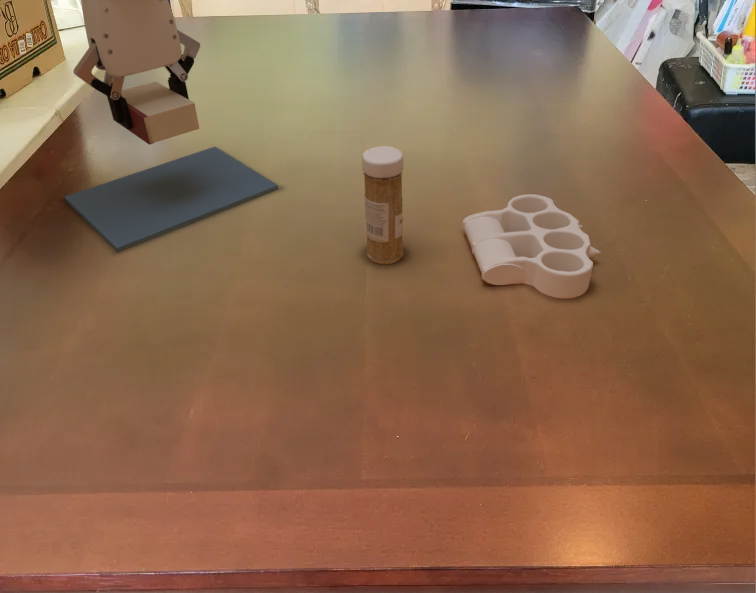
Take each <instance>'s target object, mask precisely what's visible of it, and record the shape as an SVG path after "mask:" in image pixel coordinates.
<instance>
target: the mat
mask: <svg viewBox="0 0 756 593" xmlns="http://www.w3.org/2000/svg"><path fill="white" fill-rule="evenodd" d="M278 190H279V185H278V184H277V183H275V182H274V181H272V180H271V179H269V178H267V177H265V176H264V175H262V174H260V173H259V172H257V171H256V170H254V169H253V168H251V167H249V166H248V165H246V164H244V163H242V162H241V161H239V160H238V159H236V158H234V157H233V156H231V155H229V154H227V153H226V152H225V151H223V150H222V149H220V148H218V147H216V146H212V147H208V148H205V149H202V150H199V151H197V152H194V153H192V154H188V155H185V156H182V157H180V158H175V159H174V160H171V161H168V162H164V163H161V164H158V165H155V166H152V167H149V168H146V169H144V170H140V171H137V172H134V173H131V174H127V175H124V176H122V177H119V178H115V179H114V180H109V181H107V182H105V183H101V184H98V185H95V186H92V187H89V188H86V189H83V190H80V191H78V192H75V193H71V194H69V195H66V196H64V200H65V202H66V203H67V204H68V205H69V206H70V208H72V209H73V210H74V211H75V212H76V213H77V214H79V216H80V217H81V218H82V219H83V220H84V221H85V222H86V223H87V224H88V225H89V226H90V227H91V228H93V229H94V231H96V232H97V234H98V235H100V236H101V237H102V239H103V240H104V241H106V243H108V244H109V245H110V247H112V248H113V249H114V250H115V251H116V253H120V252H123V251H125V250H128V249H130V248H133V247H136V246H139V245H141V244H143V243H145V242H148V241H151V240H153V239H156V238H159V237H161V236H163V235H166V234H169V233H171V232H174V231H177V230H179V229H181V228H184V227H187V226H189V225H191V224H194V223H197V222H199V221H202V220H204V219H206V218H209V217H212V216H214V215H217V214H219V213H222V212H224V211H227V210H230V209H232V208H235V207H238V206H240V205H242V204H246V203H247V202H250V201H252V200H255V199H258V198H260V197H263V196H265V195H269V194H270V193H273V192H275V191H278Z"/></svg>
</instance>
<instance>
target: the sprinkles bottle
mask: <svg viewBox="0 0 756 593" xmlns="http://www.w3.org/2000/svg"><path fill="white" fill-rule="evenodd" d="M404 162H405V161H404V154H403V152H402V151H401V150H400V149H398V148H396V147H393V146H389V145H388V146H387V145H380V146H374V147H370V148H368V149H366V150H364V151H363V153H362V155H361V168H362V172H363V176H364V177H363V178H364V215H365V217H364V218H365V233H366V245H367V249H366V257H367V259H368V260H369V261H370V262H372V263H374V264H378V265H383V266H384V265H386V266H387V265H392V264H395V263H397V262H399V261H400V260H401V259H402V258H403V257H404V249H403V233H404V225H403V224H404V223H403V222H404V220H403V218H404V217H403V214H404V213H403V195H402V194H403V191H402V190H403V182H402V181H403V177H402V175H403V171H404Z"/></svg>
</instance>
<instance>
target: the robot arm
mask: <svg viewBox="0 0 756 593" xmlns="http://www.w3.org/2000/svg"><path fill="white" fill-rule="evenodd" d="M80 4H81V11H82V17H83V24H84V29H85V33H86V38H87V43H88V49H87V50H86V51H85V52H84V54H83V56H82V57H81V58H80V59H79V61H78V63H77V64H76V65H75V67H74V68H73V74H74V75H75V76H76V77H77V78H78V79H80V80H81V81H83V82H84V83H86V85H88V86H90V87H91V88H93V89H94V90H96V91H97V92H99V93H100V94H103V95H105V96H106V97H107V96H108V98H107V101H108V100H109V102H108V104H109V103H110V105H109V108H110V107H111V109H110V112H111V111H112V113H111V115H112V114H113V116H112V118H113V117H114V120H115V121H114V120H113V121H114V122H115V123H117V124H119V125H120V126H121V127H123V128H124V127H125V128H124V129H126V130H127V129H128V130H127V131H129V129H132V127H133V125H132V121H131V117H130V113H129V109H128V105H127V101H126V99H125V98H124V97H122V95H121V91H122V90H123V86H124V82H125V77H129V76H133V75H137V74H141V73H145V72H148V71H152V70H156V69H160V68H165V70H166V71H167V72H168V74H169V77H168V80H167V84H168V89H170V90H172V91H174V92H176V93H178V94H179V95H181V96H183V97H185V98H187V99H188V100H190V98H189V93H188V88H187V83H186V82H187V81H188V80H189V73H190V72H191V69H192V68H193V66H194V64H195V59H196V58H197V55H198V53H199V51H200V49H201V43H200V42H199V41H197V40H196V39H194V38H192V36H189V35H187V34H186V33H184V32H182V31H180V30H179V29H178V27H177V24H176V21H175V17H174V13H173V10H172V7H171V4H170V2H169V0H80ZM182 45H183V48H184V49H183V50H182ZM94 68H96V69H98V70H100V71H105V72H104V77H103V81H102V80H101V79H99V78H98V77H97V76H95V75H94V74H93V69H94Z"/></svg>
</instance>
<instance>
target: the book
mask: <svg viewBox="0 0 756 593" xmlns="http://www.w3.org/2000/svg"><path fill="white" fill-rule="evenodd" d="M121 95H122V97H124V98H125V99H126V101H127V105H128V109H129V113H130V117H131V121H132V125H133V127H132V129H129V130H128V129H126V128H125V127H123V128H124V129H126V130H127V131H129V132H130V133H131V134H133V135H135V136H136V137H137V138H139V139H140V140H142V141H143V142H145V143H146V144H148V145H153V144H155V143H158V142H162V141H163V140H168V139H171V138H175V137H177V136H180V135H185V134H187V133H190V132H194V131H197V130H200V122H199V118H198V114H197V108H196V104H195V102H194V101H192V100H190V99H189V100H188V99H187V98H185V97H183V96H181V95H179V94H178V93H176V92H174V91H172V90H170V89H169V87H166V86H165V85H163V84H161V83H160V82H157V81H153V82H149V83H145V84H142V85H137V86H134V87H130V88H125V89H122V91H121ZM106 98H107V102H108V105H109V110H110V112H111V116H112V120H113V121H114V122H116V121H115V120H114V117H113V114H112V111H111V107H110V103H109V100H108V96H106Z"/></svg>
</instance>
